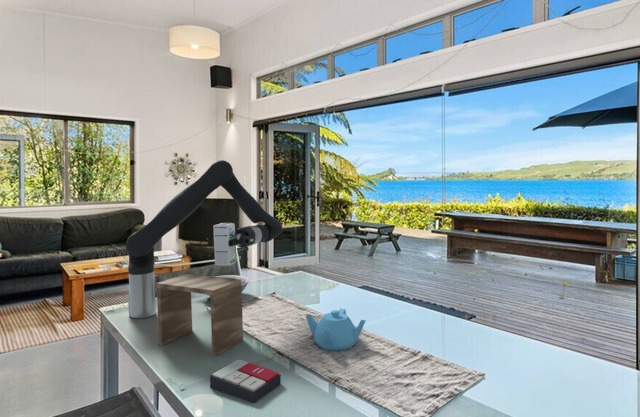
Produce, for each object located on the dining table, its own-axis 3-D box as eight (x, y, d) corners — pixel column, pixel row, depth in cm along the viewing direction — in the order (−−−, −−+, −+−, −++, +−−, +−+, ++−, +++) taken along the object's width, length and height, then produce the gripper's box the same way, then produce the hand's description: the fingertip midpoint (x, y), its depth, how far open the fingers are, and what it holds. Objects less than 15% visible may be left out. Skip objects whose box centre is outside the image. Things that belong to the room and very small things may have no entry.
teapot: (368, 347, 132) (368, 314, 131) (326, 357, 125) (325, 322, 125) (344, 331, 146) (344, 301, 145) (305, 339, 139) (304, 308, 138)
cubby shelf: (159, 345, 136) (156, 283, 135) (189, 330, 149) (186, 273, 147) (216, 356, 127) (214, 290, 125) (243, 339, 139) (241, 279, 138)
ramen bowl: (262, 294, 192) (261, 277, 191) (225, 308, 173) (225, 289, 172) (222, 287, 205) (222, 271, 205) (185, 299, 186) (184, 281, 185)
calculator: (254, 390, 100) (209, 372, 108) (253, 407, 101) (209, 388, 108) (281, 371, 110) (238, 356, 117) (281, 387, 110) (238, 371, 118)
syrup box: (230, 266, 145) (229, 224, 144) (214, 265, 147) (213, 224, 145) (236, 262, 151) (235, 222, 150) (221, 262, 152) (220, 222, 151)
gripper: (232, 225, 164) (204, 231, 148) (263, 227, 158) (237, 233, 143) (232, 244, 164) (204, 251, 149) (264, 247, 158) (238, 255, 143)
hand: (221, 242), depth 146 cm, fingers closed on syrup box, 6 cm apart
